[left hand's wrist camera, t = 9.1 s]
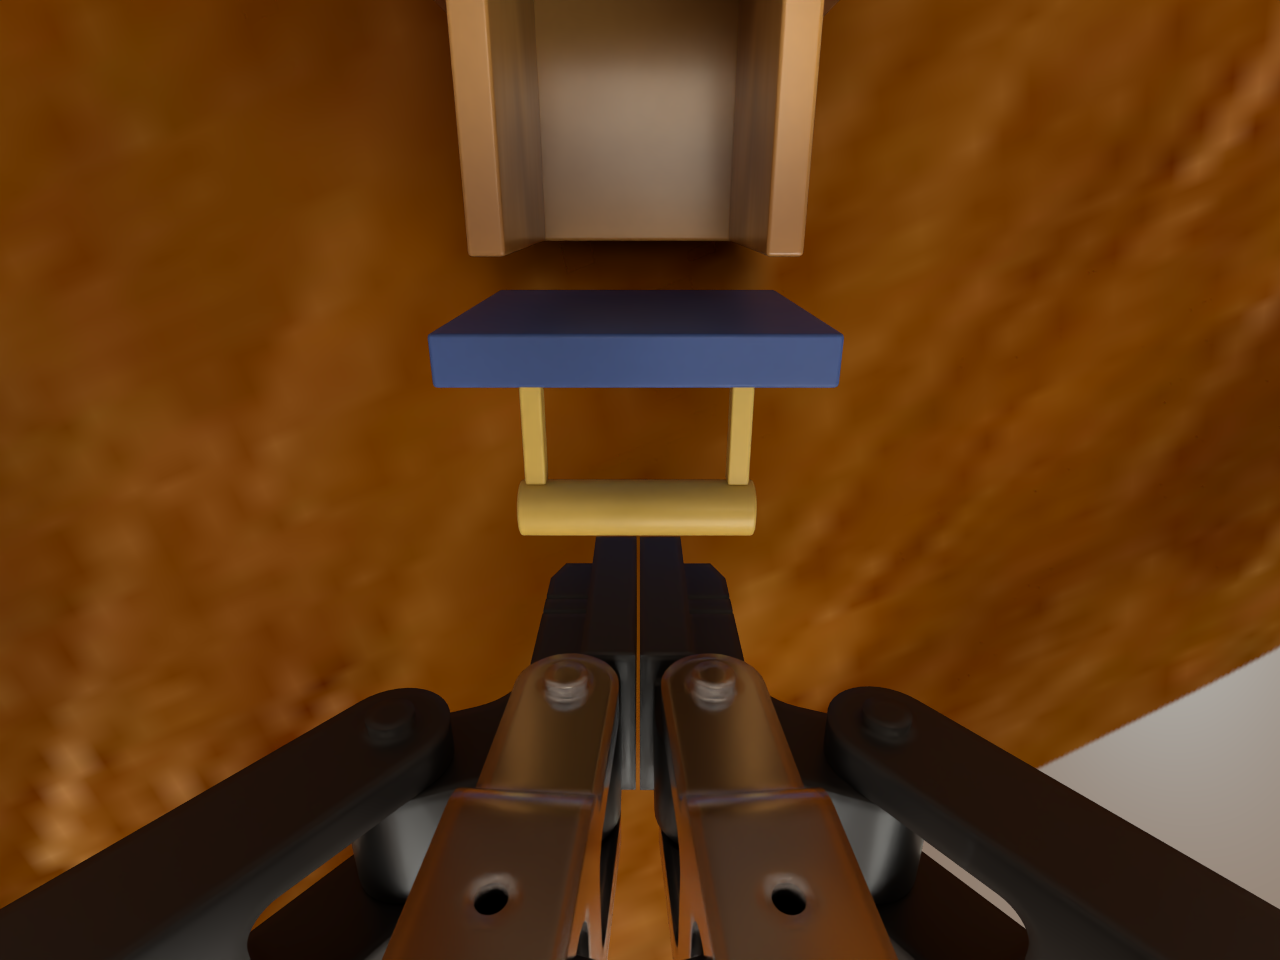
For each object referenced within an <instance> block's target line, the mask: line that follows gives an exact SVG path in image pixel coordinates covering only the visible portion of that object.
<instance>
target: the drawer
mask: <svg viewBox="0 0 1280 960" xmlns="http://www.w3.org/2000/svg"><path fill="white" fill-rule="evenodd" d="M446 10H447V21H448V33H449V44H450V55H451V66H452V78H453V89H454V100H455V112H456V123H457V134H458V145H459V157H460V168H461V179H462V191H463V202H464V213H465V224H466V236H467V247H468V253H469V255H470V256H472V257H502V256H505V255H507V254H510V253H513V252H515V251H518V250H521V249H523V248H526V247H529V246H531V245H534V244H537V243H539V242H542V241H732V242H735V243H737V244H740V245H742V246H745V247H747V248H750V249H752V250H755V251H757V252H760V253H762V254H765V255H767V256H793V257H799V256H801V255H802V254H803V249H804V238H805V226H806V214H807V202H808V190H809V178H810V166H811V154H812V142H813V131H814V119H815V107H816V95H817V83H818V71H819V59H820V47H821V35H822V24H823V12H824V0H446ZM843 340H844V337H843V334H841V333H840V332H838V331H837V330H835V329H833V328H832V327H830V326H829V325H827V324H826V323H824V322H823V321H821V320H819V319H818V318H816V317H815V316H813V315H812V314H810V313H809V312H807V311H805V310H804V309H802V308H801V307H799V306H798V305H796V304H794V303H793V302H791V301H790V300H788V299H787V298H785V297H784V296H782V295H780V294H779V293H777V292H776V291H774V290H501V291H499V292H497V293H495V294H494V295H492V296H491V297H489V298H487V299H486V300H484V301H482V302H481V303H479V304H478V305H476V306H474V307H473V308H471V309H469V310H468V311H466V312H465V313H463V314H461V315H460V316H458V317H456V318H455V319H453V320H451V321H450V322H448V323H447V324H445V325H443V326H442V327H440V328H438V329H437V330H435V331H434V332H432V333H430V334H429V335H428V344H429V353H430V362H431V370H432V379H433V384H434V386H435V387H519V396H520V411H521V426H522V441H523V455H524V470H525V480H522V481H521V483H520V485H519V489H518V497H517V519H518V527H519V530H520V533H521V534H522V535H752V534H753V532H754V530H755V525H756V512H757V505H756V491H755V486H754V483H753V481H752V480H749V467H750V451H751V435H752V419H753V403H754V388H834V387H837V386H838V384H839V377H840V367H841V358H842V349H843ZM543 387H613V388H730V398H729V418H728V438H727V458H726V480H547V478H548V464H547V445H546V427H545V408H544V389H543Z"/></svg>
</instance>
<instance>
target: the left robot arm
mask: <svg viewBox="0 0 1280 960" xmlns="http://www.w3.org/2000/svg"><path fill="white" fill-rule="evenodd" d="M732 611H733V610H732V606H731V601H730V599H729V593H728V588H727V584H726V579H725V578H724V577H723V576H722V575H721V574H720V573H719V572H718V571H717V570H716V569H715V568H714V567H713V566H712V565H711V564H683V555H682V547H681V539H680V537H640V790H654V808H655V817H656V820H657V822H658V824H659V845H660V853H661V862H662V870H663V879H664V887H665V896H666V904H667V913H668V921H669V930H670V938H671V947H672V955H673V960H1280V909H1278V908H1276V907H1275V906H1273V905H1271V904H1269V903H1268V902H1266V901H1264V900H1263V899H1261V898H1259V897H1257V896H1256V895H1254V894H1252V893H1250V892H1249V891H1247V890H1245V889H1244V888H1242V887H1240V886H1238V885H1237V884H1235V883H1233V882H1231V881H1230V880H1228V879H1226V878H1224V877H1223V876H1221V875H1219V874H1218V873H1216V872H1214V871H1212V870H1211V869H1209V868H1207V867H1205V866H1204V865H1202V864H1200V863H1199V862H1197V861H1195V860H1193V859H1192V858H1190V857H1188V856H1186V855H1185V854H1183V853H1181V852H1179V851H1178V850H1176V849H1174V848H1173V847H1171V846H1169V845H1167V844H1166V843H1164V842H1162V841H1160V840H1159V839H1157V838H1155V837H1153V836H1152V835H1150V834H1148V833H1147V832H1145V831H1143V830H1141V829H1140V828H1138V827H1136V826H1134V825H1133V824H1131V823H1129V822H1127V821H1126V820H1124V819H1122V818H1121V817H1119V816H1117V815H1115V814H1114V813H1112V812H1110V811H1108V810H1107V809H1105V808H1103V807H1102V806H1100V805H1098V804H1096V803H1095V802H1093V801H1091V800H1089V799H1088V798H1086V797H1084V796H1083V795H1081V794H1079V793H1077V792H1076V791H1074V790H1072V789H1070V788H1069V787H1067V786H1065V785H1063V784H1062V783H1060V782H1058V781H1056V780H1055V779H1053V778H1051V777H1050V776H1048V775H1046V774H1044V773H1043V772H1041V771H1039V770H1037V769H1036V768H1034V767H1032V766H1031V765H1029V764H1027V763H1025V762H1024V761H1022V760H1020V759H1018V758H1017V757H1015V756H1013V755H1012V754H1010V753H1008V752H1006V751H1005V750H1003V749H1001V748H999V747H998V746H996V745H994V744H992V743H991V742H989V741H987V740H986V739H984V738H982V737H980V736H979V735H977V734H975V733H973V732H972V731H970V730H968V729H966V728H965V727H963V726H961V725H960V724H958V723H956V722H954V721H953V720H951V719H949V718H947V717H946V716H944V715H942V714H941V713H939V712H937V711H935V710H934V709H932V708H930V707H928V706H927V705H925V704H923V703H921V702H920V701H918V700H916V699H914V698H912V697H910V696H908V695H906V694H903V693H901V692H898V691H894V690H891V689H887V688H881V687H857V688H852V689H848V690H845V691H843V692H841V693H839V694H838V695H837V696H836V697H834V698H833V700H832V701H831V702H830V704H829V707H828V712H827V713H823V712H818V711H814V710H810V709H805V708H801V707H797V706H793V705H790V704H787V703H784V702H782V701H779V700H777V699H775V698H773V697H771V696H770V695H769V692H768V690H767V687H766V684H765V682H764V680H763V678H762V676H761V675H760V674H759V673H758V671H756V670H755V669H754V668H753V667H752V666H750V665H749V664H747V663H746V662H744V658H743V654H742V649H741V645H740V641H739V636H738V632H737V628H736V623H735V619H734V614H733V612H732ZM636 660H637V542H636V536H597V537H596V542H595V550H594V557H593V563H566V564H565V565H564V566H563V567H562V568H561V569H560V570H559V571H558V572H557V573H556V574H555V575H554V576H553V577H552V578H551V581H550V585H549V589H548V593H547V599H546V602H545V606H544V613H543V614H542V618H541V623H540V627H539V631H538V635H537V639H536V644H535V648H534V652H533V656H532V660H531V665H530V666H528V667H527V668H526V669H525V670H524V671H522V673H521V674H520V675H519V676H518V678H517V680H516V682H515V684H514V687H513V690H512V691H511V692H510V693H508V694H507V695H505V696H504V697H502V698H500V699H498V700H496V701H493V702H490V703H488V704H485V705H481V706H477V707H473V708H469V709H464V710H460V711H456V712H451V713H450V710H449V707H448V705H447V703H446V702H445V701H444V699H442V698H441V697H440V696H439V695H437V694H435V693H433V692H431V691H428V690H424V689H418V688H401V689H394V690H388V691H385V692H381V693H378V694H375V695H373V696H370V697H368V698H366V699H364V700H362V701H360V702H359V703H357V704H355V705H353V706H352V707H350V708H348V709H346V710H345V711H343V712H341V713H339V714H338V715H336V716H334V717H333V718H331V719H329V720H327V721H326V722H324V723H322V724H320V725H319V726H317V727H315V728H313V729H312V730H310V731H308V732H307V733H305V734H303V735H301V736H300V737H298V738H296V739H294V740H293V741H291V742H289V743H288V744H286V745H284V746H282V747H281V748H279V749H277V750H275V751H274V752H272V753H270V754H268V755H267V756H265V757H263V758H262V759H260V760H258V761H256V762H255V763H253V764H251V765H249V766H248V767H246V768H244V769H242V770H241V771H239V772H237V773H236V774H234V775H232V776H230V777H229V778H227V779H225V780H223V781H222V782H220V783H218V784H217V785H215V786H213V787H211V788H210V789H208V790H206V791H204V792H203V793H201V794H199V795H197V796H196V797H194V798H192V799H191V800H189V801H187V802H185V803H184V804H182V805H180V806H178V807H177V808H175V809H173V810H171V811H170V812H168V813H166V814H165V815H163V816H161V817H159V818H158V819H156V820H154V821H152V822H151V823H149V824H147V825H146V826H144V827H142V828H140V829H139V830H137V831H135V832H133V833H132V834H130V835H128V836H126V837H125V838H123V839H121V840H120V841H118V842H116V843H114V844H113V845H111V846H109V847H107V848H106V849H104V850H102V851H100V852H99V853H97V854H95V855H94V856H92V857H90V858H88V859H87V860H85V861H83V862H81V863H80V864H78V865H76V866H75V867H73V868H71V869H69V870H68V871H66V872H64V873H62V874H61V875H59V876H57V877H55V878H54V879H52V880H50V881H49V882H47V883H45V884H43V885H42V886H40V887H38V888H36V889H35V890H33V891H31V892H29V893H28V894H26V895H24V896H23V897H21V898H19V899H17V900H16V901H14V902H12V903H10V904H9V905H7V906H5V907H4V908H2V909H0V960H607V955H608V947H609V938H610V930H611V921H612V913H613V904H614V896H615V887H616V879H617V870H618V862H619V853H620V845H621V789H635V788H636ZM924 840H925V841H926V842H928V843H929V844H930V845H932V846H933V847H934V848H936V849H937V850H938V851H940V852H941V853H943V854H944V855H945V856H947V857H948V858H949V859H951V860H952V861H953V862H955V863H956V864H957V865H959V866H960V867H962V868H963V869H964V870H966V871H967V872H968V873H970V874H971V875H972V876H974V877H975V878H977V879H978V880H979V881H981V882H982V883H983V884H985V885H986V886H987V887H989V888H990V889H991V890H993V891H994V892H996V893H997V894H998V895H1000V896H1001V897H1002V898H1003V899H1004V900H1006V901H1007V902H1008V903H1009V904H1010V905H1011V906H1012V908H1013V909H1014V910H1015V911H1016V913H1017V914H1018V915H1019V917H1020V918H1021V920H1022V922H1023V923H1024V925H1025V928H1026V929H1025V928H1024V927H1022V926H1021V925H1020V924H1018V923H1017V922H1016V921H1014V920H1013V919H1012V918H1010V917H1009V916H1008V915H1006V914H1005V913H1004V912H1002V911H1001V910H1000V909H998V908H997V907H996V906H994V905H993V904H992V903H990V902H989V901H988V900H986V899H985V898H984V897H982V896H981V895H980V894H978V893H977V892H976V891H974V890H973V889H972V888H970V887H969V886H968V885H966V884H965V883H964V882H962V881H961V880H960V879H958V878H957V877H956V876H954V875H953V874H952V873H950V872H949V871H948V870H946V869H945V868H944V867H942V866H941V865H940V864H938V863H937V862H936V861H934V860H933V859H932V858H930V857H929V856H928V855H926V854H925V853H924V852H922V846H923V842H924ZM351 843H352V848H353V852H354V855H352V856H351V857H350V858H348V859H347V860H346V861H344V862H343V863H342V864H340V865H339V866H338V867H336V868H335V869H334V870H332V871H331V872H330V873H328V874H327V875H326V876H324V877H323V878H322V879H320V880H319V881H318V882H316V883H315V884H314V885H312V886H311V887H310V888H308V889H307V890H306V891H304V892H303V893H302V894H300V895H299V896H298V897H296V898H295V899H294V900H292V901H291V902H290V903H288V904H287V905H286V906H284V907H283V908H282V909H280V910H279V911H278V912H276V913H275V914H274V915H272V916H271V917H270V918H268V919H267V920H266V921H264V922H263V923H262V924H260V925H259V926H258V927H256V928H255V929H254V930H252V931H251V928H252V926H253V925H254V923H255V921H256V920H257V918H258V917H259V916H260V914H261V913H262V912H263V911H264V910H265V908H266V907H267V906H268V905H269V904H270V903H271V902H273V901H274V900H275V899H276V898H278V897H279V896H280V895H282V894H283V893H284V892H286V891H287V890H289V889H290V888H291V887H293V886H294V885H295V884H297V883H298V882H299V881H301V880H302V879H303V878H305V877H306V876H308V875H309V874H310V873H312V872H313V871H314V870H316V869H317V868H318V867H320V866H321V865H323V864H324V863H325V862H327V861H328V860H329V859H331V858H332V857H333V856H335V855H336V854H337V853H339V852H340V851H342V850H343V849H344V848H346V847H347V846H348V845H350V844H351ZM250 931H251V932H250Z"/></svg>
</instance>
